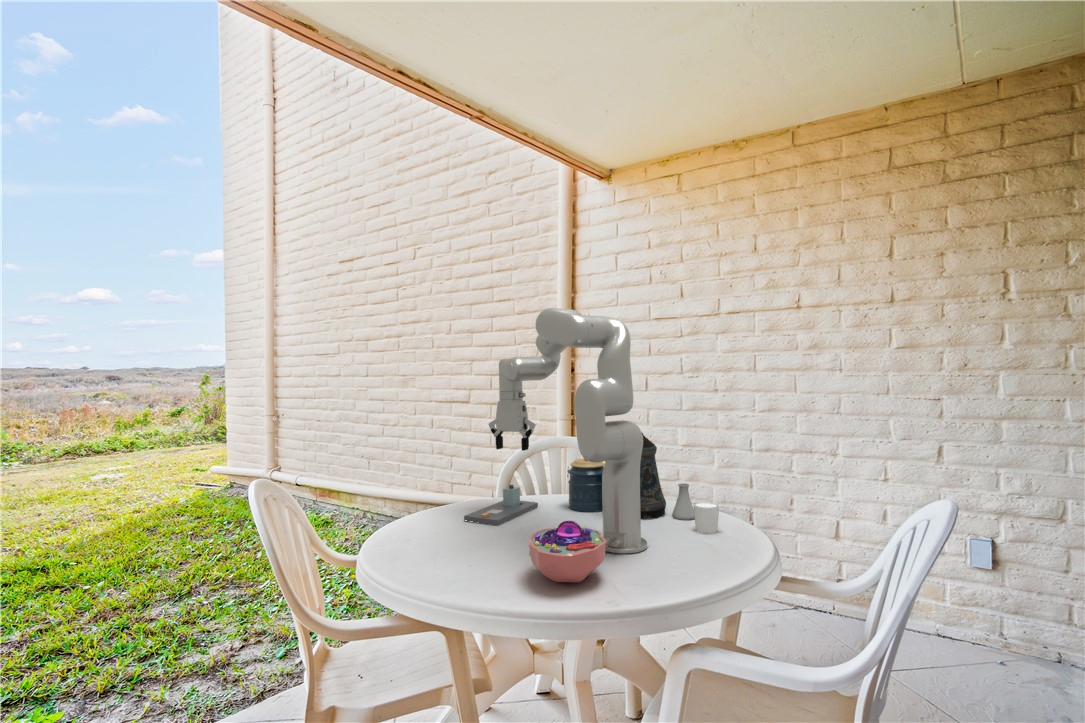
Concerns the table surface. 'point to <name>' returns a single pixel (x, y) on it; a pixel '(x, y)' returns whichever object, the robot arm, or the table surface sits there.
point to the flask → (683, 504)
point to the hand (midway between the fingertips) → (512, 449)
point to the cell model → (567, 552)
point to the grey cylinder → (706, 517)
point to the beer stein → (650, 484)
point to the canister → (586, 485)
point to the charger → (511, 496)
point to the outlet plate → (499, 513)
